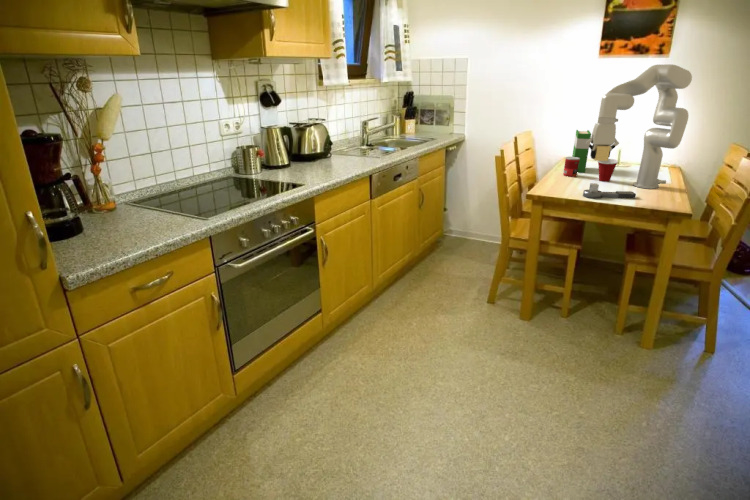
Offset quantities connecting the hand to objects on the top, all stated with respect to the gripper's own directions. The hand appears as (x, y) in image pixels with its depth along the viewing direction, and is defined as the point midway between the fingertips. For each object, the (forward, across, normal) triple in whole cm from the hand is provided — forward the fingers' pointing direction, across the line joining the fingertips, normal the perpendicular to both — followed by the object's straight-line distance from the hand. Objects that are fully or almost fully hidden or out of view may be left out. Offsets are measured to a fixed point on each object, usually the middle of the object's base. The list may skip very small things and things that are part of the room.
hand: (599, 157), depth 226 cm
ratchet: (+20, -8, 0) cm, 21 cm away
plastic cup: (+20, -18, -36) cm, 45 cm away
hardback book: (+20, -11, -66) cm, 70 cm away
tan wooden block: (+1, 0, 0) cm, 1 cm away
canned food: (+20, -2, -48) cm, 52 cm away
